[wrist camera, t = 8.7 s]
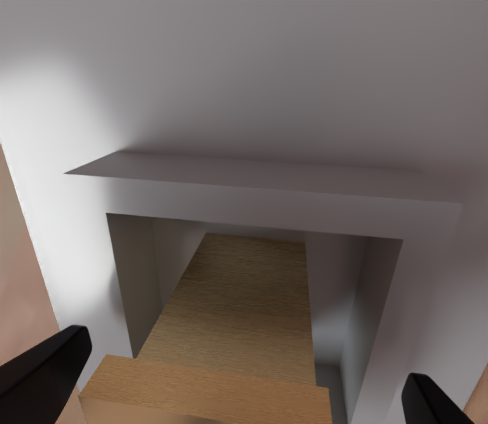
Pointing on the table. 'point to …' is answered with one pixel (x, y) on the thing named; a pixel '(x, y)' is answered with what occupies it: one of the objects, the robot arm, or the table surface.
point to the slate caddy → (262, 170)
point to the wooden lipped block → (222, 345)
